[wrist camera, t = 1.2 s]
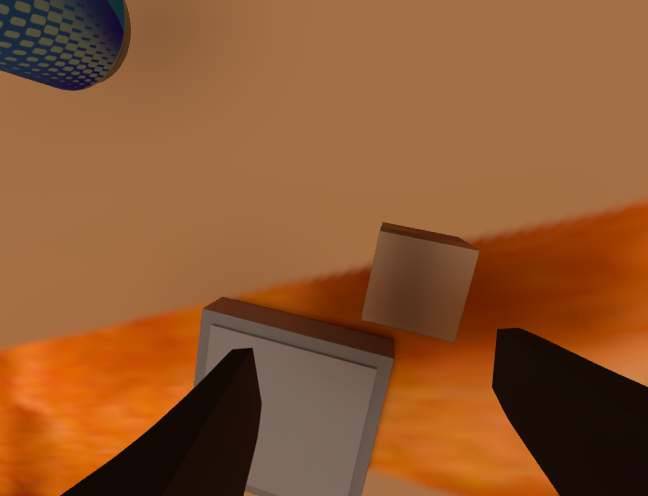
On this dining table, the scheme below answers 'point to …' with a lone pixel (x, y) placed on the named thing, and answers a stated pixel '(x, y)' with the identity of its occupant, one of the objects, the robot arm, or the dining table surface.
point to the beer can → (63, 40)
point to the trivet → (304, 396)
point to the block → (419, 281)
